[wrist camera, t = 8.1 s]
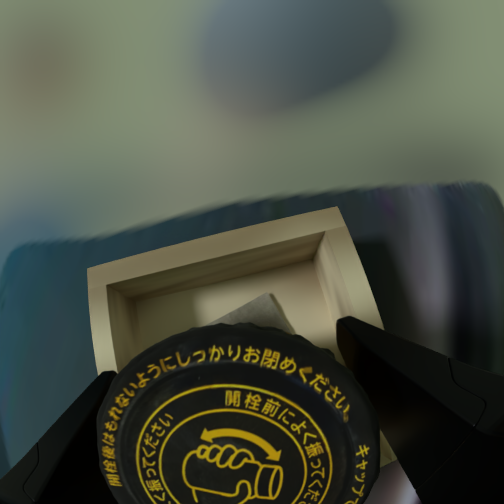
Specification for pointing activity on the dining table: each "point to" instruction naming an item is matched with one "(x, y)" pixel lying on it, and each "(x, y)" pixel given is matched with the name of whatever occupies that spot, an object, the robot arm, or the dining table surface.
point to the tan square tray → (233, 287)
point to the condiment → (238, 419)
